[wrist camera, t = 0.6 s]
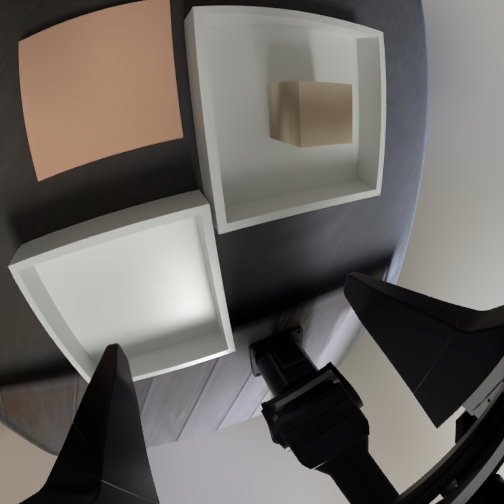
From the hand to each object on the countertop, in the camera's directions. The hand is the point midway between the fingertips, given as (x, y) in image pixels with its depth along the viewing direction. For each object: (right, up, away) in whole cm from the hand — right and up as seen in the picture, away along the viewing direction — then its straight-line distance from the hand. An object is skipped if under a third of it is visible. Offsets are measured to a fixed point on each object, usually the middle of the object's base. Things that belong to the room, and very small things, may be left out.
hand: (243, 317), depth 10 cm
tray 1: (-9, -1, +11) cm, 14 cm away
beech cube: (+3, +12, +8) cm, 15 cm away
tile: (-9, +13, +2) cm, 16 cm away
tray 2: (+3, +13, +8) cm, 16 cm away
